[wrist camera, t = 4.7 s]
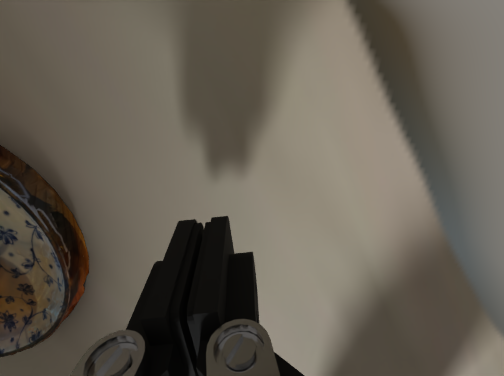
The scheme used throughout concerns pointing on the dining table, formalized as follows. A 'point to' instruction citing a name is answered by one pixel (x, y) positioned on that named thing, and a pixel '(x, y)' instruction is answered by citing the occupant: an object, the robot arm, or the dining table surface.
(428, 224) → the dining table surface
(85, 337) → the dining table surface
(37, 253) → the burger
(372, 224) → the dining table surface
